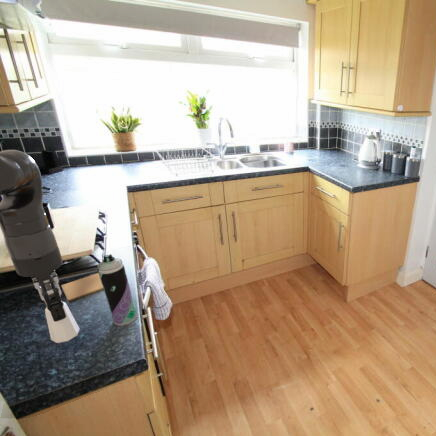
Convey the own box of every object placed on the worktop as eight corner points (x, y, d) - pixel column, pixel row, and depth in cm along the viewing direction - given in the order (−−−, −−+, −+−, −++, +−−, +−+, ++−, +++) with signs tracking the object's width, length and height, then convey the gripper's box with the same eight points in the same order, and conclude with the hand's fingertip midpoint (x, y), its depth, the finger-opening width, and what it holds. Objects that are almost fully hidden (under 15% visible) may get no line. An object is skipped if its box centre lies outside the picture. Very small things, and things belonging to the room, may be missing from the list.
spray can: (121, 328, 83) (101, 263, 75) (109, 321, 86) (89, 257, 78) (141, 316, 88) (125, 253, 80) (129, 309, 90) (112, 248, 82)
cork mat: (61, 304, 91) (60, 302, 91) (54, 289, 97) (54, 287, 97) (109, 286, 99) (108, 285, 99) (100, 273, 105) (100, 272, 105)
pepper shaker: (45, 343, 73) (29, 304, 68) (63, 326, 78) (49, 289, 73) (68, 343, 73) (54, 305, 69) (85, 327, 78) (73, 290, 74)
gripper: (6, 242, 68) (32, 306, 75) (13, 269, 59) (42, 339, 66) (51, 232, 73) (71, 293, 80) (63, 255, 64) (85, 322, 71)
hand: (58, 313), depth 73 cm, fingers closed on pepper shaker, 4 cm apart
